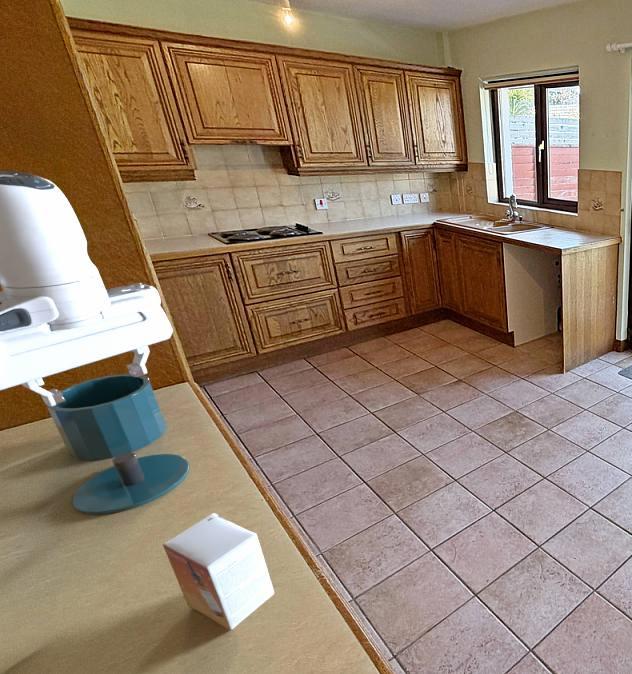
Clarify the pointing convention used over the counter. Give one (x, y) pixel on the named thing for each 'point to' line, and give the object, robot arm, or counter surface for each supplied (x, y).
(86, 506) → the lid
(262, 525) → the counter surface
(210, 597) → the small box
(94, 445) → the canister
